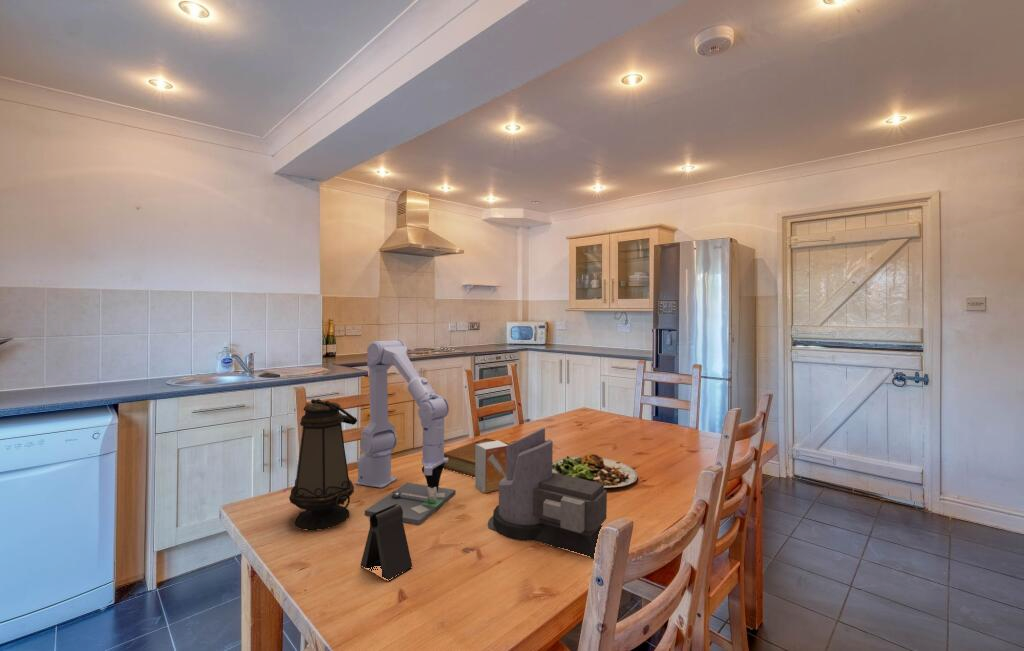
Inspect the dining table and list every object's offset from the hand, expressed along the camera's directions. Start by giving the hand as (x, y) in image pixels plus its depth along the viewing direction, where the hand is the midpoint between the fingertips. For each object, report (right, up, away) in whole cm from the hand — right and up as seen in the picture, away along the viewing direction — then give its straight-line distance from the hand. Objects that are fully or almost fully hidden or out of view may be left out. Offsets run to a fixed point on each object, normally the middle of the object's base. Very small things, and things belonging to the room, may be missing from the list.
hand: (433, 492), depth 120 cm
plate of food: (+47, -4, +22) cm, 53 cm away
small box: (+15, -3, +12) cm, 20 cm away
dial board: (-6, -3, 0) cm, 6 cm away
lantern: (-26, -4, -9) cm, 28 cm away
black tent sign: (-4, -4, -30) cm, 31 cm away
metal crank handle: (-5, -2, 0) cm, 5 cm away
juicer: (+30, -4, -14) cm, 33 cm away
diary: (+12, -3, +32) cm, 34 cm away
